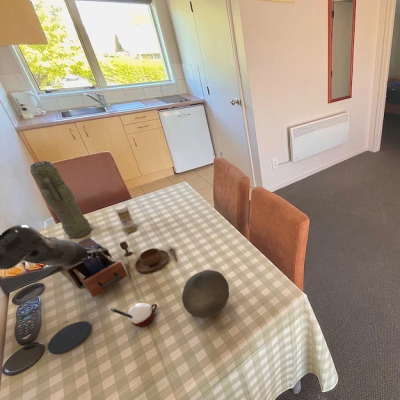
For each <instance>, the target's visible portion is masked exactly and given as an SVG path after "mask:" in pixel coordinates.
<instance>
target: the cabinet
mask: <svg viewBox="0 0 400 400" xmlns="http://www.w3.org/2000/svg"><path fill="white" fill-rule="evenodd" d="M77 243H80V244H81V245H82V246H83V247H85V248H86V247H93V248H94V249H95V248H96V247H98V246H101V247H102V248H103V249H104V253H105V254H106V255H108V256H109V257H111V258H112V259H113V257H112V255H111V253H110V252H109V249H108V248H107V247H104V246H103V245H102V244H100V243H99V242H97V241H96V240H94V239H93V238H91V237H90V236H89V237H86V238H84V239H82V240H80V241H77ZM82 264H84V262H82V261H79V262H78V263H77V264H75V265H72V266H56V267H57V269H58V270H59V272H61V274H62V275H63V276H64V277H65V278H67V280H69V281H70V282H71V283H72V284H73V285H75V287H76V288H77V289H79V290H80V289H81V288H83V287H85V286H84V285H83V284H81V283H80V282H79V281H78V280H77V278H76V277H75V275H74V274H73V272H72V271H71V270H73V269H75V268H76V267H78V266H80V265H82Z"/></svg>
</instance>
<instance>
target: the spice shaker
mask: <svg viewBox="0 0 400 400" xmlns="http://www.w3.org/2000/svg"><path fill="white" fill-rule="evenodd" d="M86 248H92V249H93V250H94V248H93V247H86ZM93 254H94V253H93ZM82 261H83V262H84V264H85V266H86V267H87V269H88V270H89V272H90V274H91V275H92V276H93V275H94V274H96V273H98V272H100V271H101V270H103V269H105V267H104V265H103V264H102V262H101V260H100V258H93V259H84V260H82Z"/></svg>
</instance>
